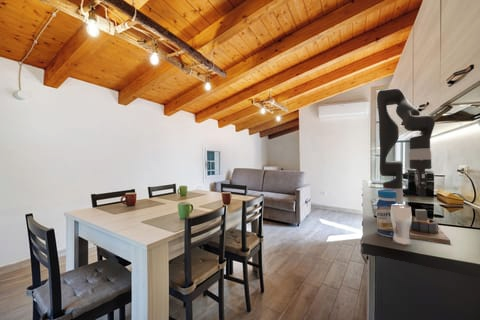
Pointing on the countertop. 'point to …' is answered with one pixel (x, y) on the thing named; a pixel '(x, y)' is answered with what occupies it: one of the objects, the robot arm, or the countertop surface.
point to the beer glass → (401, 223)
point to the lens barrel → (424, 226)
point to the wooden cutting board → (431, 236)
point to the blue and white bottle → (385, 212)
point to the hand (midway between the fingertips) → (421, 195)
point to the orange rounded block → (421, 216)
